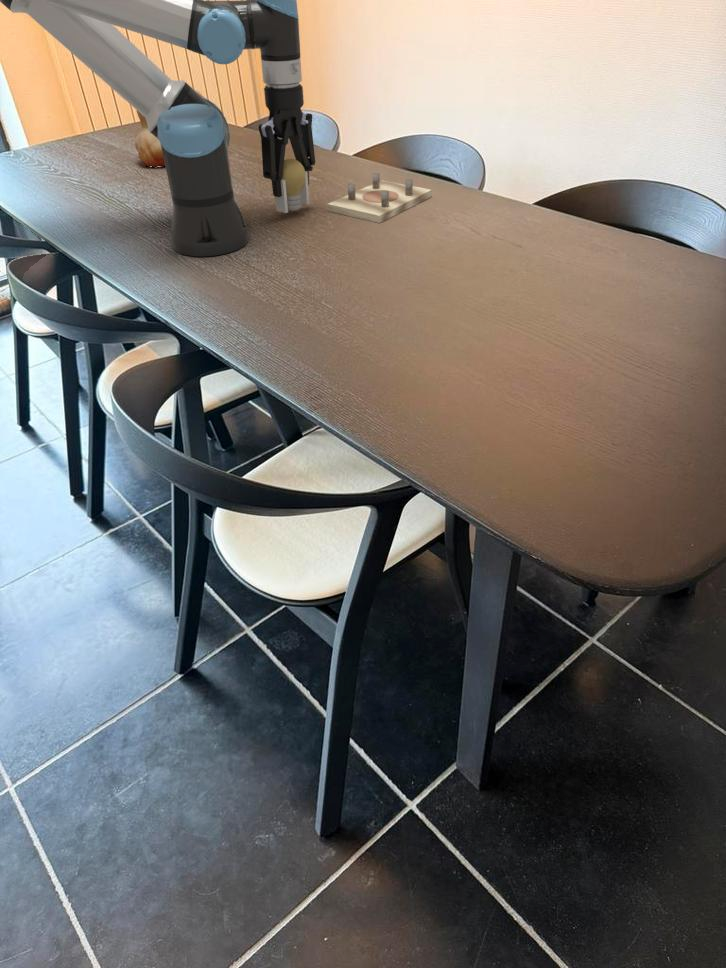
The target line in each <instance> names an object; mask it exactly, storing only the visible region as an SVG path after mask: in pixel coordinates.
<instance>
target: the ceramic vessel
mask: <svg viewBox="0 0 726 968" xmlns="http://www.w3.org/2000/svg"><path fill="white" fill-rule="evenodd" d="M194 90H195V91H196V92H197V93H198V94H199V95H200V96H201V97H203V98H205V99H207V98H206V97H205V96H204V95H203V94H202V93H201V92H200V91H198V90H196V89H194ZM135 110H136V109H135ZM136 113H137V114H136V115H137V117H138V120H139V121H140V125H141V128H140V130H139V134H137V135H136V138H135V141H134V146H135V149H136V151H137V153H138V154H137V155H138V157H139V159H140V161H141V162H142V163H143V164H145V166H146V165H147V166H148V167H150V166H152V167H157V166H165V162H164V157H163V152H162V148H161V144H160V141H159V140H158V139H157V138H156V137H155V136H154V135H153V134H151V133H150V132H149V130H148V125H147V121H146V118H145V117H144V116H143V115H142V114H141V113H140V112H138V111H137V110H136ZM148 167H147V168H148Z"/></svg>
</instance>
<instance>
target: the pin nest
mask: <svg viewBox="0 0 726 968" xmlns="http://www.w3.org/2000/svg"><path fill="white" fill-rule="evenodd" d="M380 176H381V175H380V173H379V172H373V173H372V184H369V185H367V186H366V187H362V188H360V189H358V190H356V184H355V183H348V184H347V195H345V196H343V197H340V198H337V199H336V200H333V201H331V202H329V203H327V204H326V205H327V211H328V212H330V213H333V214H340V215H343V216H348V217H352V218H356V219H361V220H363V221H364V220H365V221H369V222H372V223H373V222H374V223H376V224H377V223H378V224H381V223H383V222H385V221H387V220H389V219H390V218H392V217H394V216H396V215H398V214H400V213H403V212H405V211H406V210H408V209H410V208H412V207H414V206H416V205H418V204H420V203H423V202H424V201H426V200H428V199H430V198H432V195H433V193H432V192H433V190H432V189H429V188H425V187H420V186H414V184H413V183H414V182H413V181H414V180H413V179H409V178H408V179H405V180H404V181H405V182H404V183H405V184H403V183H398V182H393V181H387V180H383V179H382V180H380Z"/></svg>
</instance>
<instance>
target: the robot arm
mask: <svg viewBox="0 0 726 968" xmlns="http://www.w3.org/2000/svg"><path fill="white" fill-rule="evenodd" d="M0 3H1V4H2V5H3V6H5V8H6V9H8V10H9V11H11V12H12V13H17V14H20V13H21V14H27V15H28V16H29V17H30V18H32V19H33V20H34V21H35V22H36V23H37V24H38V25H40V26H41V27H42V28H43V29H44V30H46V31H47V32H48V34H50V35H51V36H52V37H53V38H55V40H56V41H58V43H60V44H61V45H62V46H63V47H64V48H66V49H67V50H68V51H69V52H70V53H71V54H72V55H73V56H75V57H76V58H77V59H78V60H79V61H80V62H82V63H83V64H84V66H86V67H87V68H88V69H89V70H91V71H92V72H93V73H94V74H95V75H96V76H98V78H100V79H101V81H103V82H105V83H106V84H107V86H109V87H110V88H111V89H112V90H113V91H114V92H116V93H117V94H118V95H119V96H120V97H122V99H124V100H125V101H126V102H127V103H128V104H129V105H130V106H132V107H133V108H134V109H135V110H137V111H138V112H140V113H141V114H142V115H143V116H144V117H145V118H146V121H147V125H148V130H149V132H150V133H151V134H153V135H154V136H155V137H156V138H157V139H158V140H159V141H160V144H161V148H162V152H163V157H164V162H165V167H164V168H165V171H166V175H167V176H166V177H167V181H168V186H169V187H168V188H169V191H170V196H171V201H172V207H173V208H172V211H173V212H172V217H171V218H172V221H171V231H170V240H171V244H172V248H173V250H174V251H175V252H176V253H178V254H181V255H183V256H185V255H186V256H190V257H191V256H192V257H213V256H214V257H215V256H221V255H224V254H229V253H232V252H235V251H237V250H239V249H242V248H243V247H245V246H246V245H247V244H248V243H249V241H248V240H250V237H249V229H248V225H247V224H246V222H245V219H244V217H243V216H242V212H241V211H240V208H239V206H238V205H237V202H236V200H235V195H234V188H233V182H232V175H231V168H230V161H229V160H230V159H229V154H228V153H229V146H230V140H231V139H230V138H231V136H230V135H231V134H230V128H229V124H228V121H227V119H226V117H225V115H224V112H222V110H221V109H220V108H219V107H218V106H217V105H216V104H215V102H213V101H211V100H209V99H208V98H206V97H205V98H206V99H205V98H203V97H201V96H200V95H199V94H198V93H197V92H196V91H195V90H196V89H194V88H193V87H192V86H190V85H189V84H188V83H187V82H186V81H185V80H173V79H171V78H170V77H169V76H168V75H167V74H166V73H165V72H163V71H162V69H160V68H159V67H158V66H157V64H155V63H154V62H153V61H152V60H151V59H150V58H148V56H147V55H145V53H143V51H141V50H140V48H139V47H137V46H136V45H135V44H134V43H133V42H132V41H131V40H130V39H128V37H126V36H125V35H124V34H123V33H122V32H121V31H120V30H119V29H118V28H117V27H119V28H121V29H125V30H128V31H131V32H134V33H137V34H140V35H143V36H146V37H149V38H152V39H155V40H158V41H161V42H164V43H168V44H171V45H173V46H176V47H179V48H182V49H185V50H188V51H190V52H192V53H196V54H200V55H202V56H205V57H206V58H207V59H209V60H210V61H211V62H213V63H215V64H217V65H229V64H231V63H234V62H236V60H238V59H239V58H240V56H241V55H242V54H243V51H244V50H256V49H259V51H260V62H261V70H262V82H263V83H264V84H266V85H265V86H264V88H263V92H264V94H263V95H264V103H265V107H266V108H267V109H268V112H269V113H268V120H267V122H266V123H264V124H262V123H261V124H259V125H258V133H259V135H260V142H261V163H262V176H263V178H264V179H269V180H270V181H271V189H272V194H273V197H274V202H275V211H277V212H280V213H283V214H287V213H288V212H289V210H288V206H287V194H286V183H285V180H284V179H282V174H283V166H284V160H285V156H286V148H287V147H286V146H287V145H288V143H289V141H290V145H291V149H292V152H293V154H294V160H297V161H299V162H300V163H301V164H302V165H303V167H304V170H305V174H306V178H305V182H304V185H303V187H302V188H301V190H300V192H299V193H300V194H301V204H305V205H309V204H310V191H309V186H310V172H312V171H313V169H314V167H313V166H315V165H316V155H315V147H314V146H315V145H314V138H313V137H314V135H313V127H312V126H313V125H312V124H313V114H312V113H309V112H303V111H302V108H303V106H304V104H305V102H304V101H305V100H304V89H303V86H302V84H300V83H301V82H302V81H303V77H302V63H301V59H302V58H301V42H300V40H301V39H300V24H299V23H300V22H299V11H298V2H297V0H0ZM137 111H136V112H137ZM276 172H277V174H276ZM247 242H248V243H247Z"/></svg>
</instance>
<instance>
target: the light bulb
mask: <svg viewBox="0 0 726 968" xmlns="http://www.w3.org/2000/svg"><path fill="white" fill-rule="evenodd" d="M276 174H277V172H276ZM305 178H306V174H305V170H304V167H303V165H302V164H301V163H300V162H299V161H297V160H296V159H295V158H286V159H285V158H284V166H283V174H282V179H284V180H285V183H286V194H287V206H288V211H291V212H293V211H298V210H300V209H301V208H302V205H303V203H301V194H300V193H299V192H300V190H301V188H302V187H303V185H304V182H305Z"/></svg>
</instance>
